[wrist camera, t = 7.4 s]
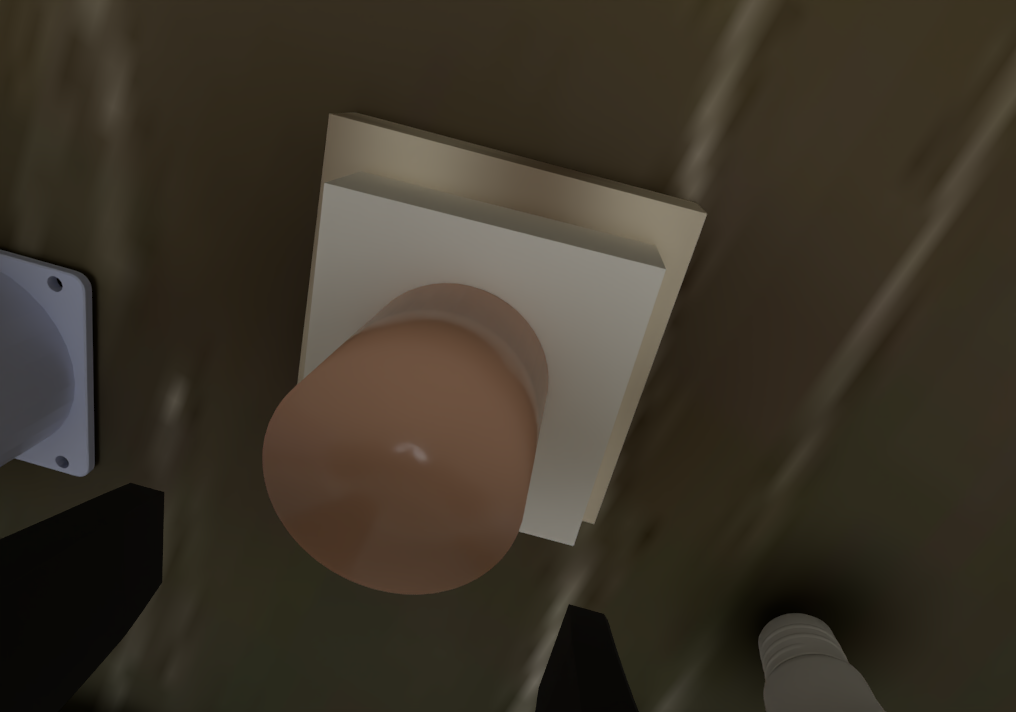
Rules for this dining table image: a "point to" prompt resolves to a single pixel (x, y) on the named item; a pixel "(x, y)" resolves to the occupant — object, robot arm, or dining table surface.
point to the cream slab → (516, 280)
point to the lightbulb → (809, 669)
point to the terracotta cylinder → (413, 442)
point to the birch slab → (531, 191)
